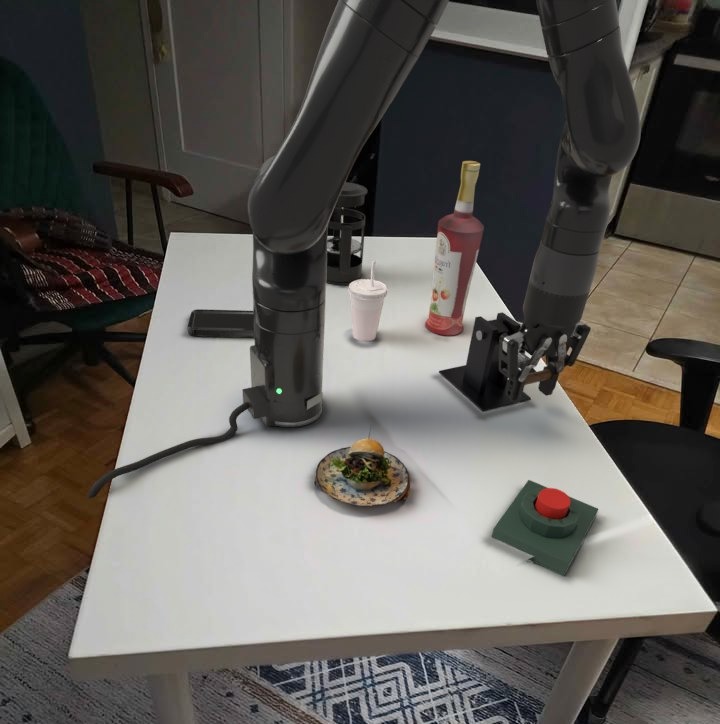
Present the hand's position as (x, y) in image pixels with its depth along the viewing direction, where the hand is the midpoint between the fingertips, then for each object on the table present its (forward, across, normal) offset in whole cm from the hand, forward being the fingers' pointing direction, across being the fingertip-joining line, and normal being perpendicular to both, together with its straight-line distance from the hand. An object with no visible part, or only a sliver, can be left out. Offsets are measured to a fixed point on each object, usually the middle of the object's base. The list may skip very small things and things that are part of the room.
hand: (529, 396), depth 91 cm
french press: (+5, -2, +57) cm, 57 cm away
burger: (+5, -28, -3) cm, 29 cm away
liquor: (+5, +5, +29) cm, 30 cm away
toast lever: (-3, 0, +5) cm, 6 cm away
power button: (+1, -12, -19) cm, 23 cm away
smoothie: (+5, -10, +31) cm, 33 cm away
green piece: (+5, -12, -19) cm, 23 cm away
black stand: (+5, 0, +10) cm, 11 cm away
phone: (+5, -29, +43) cm, 52 cm away
